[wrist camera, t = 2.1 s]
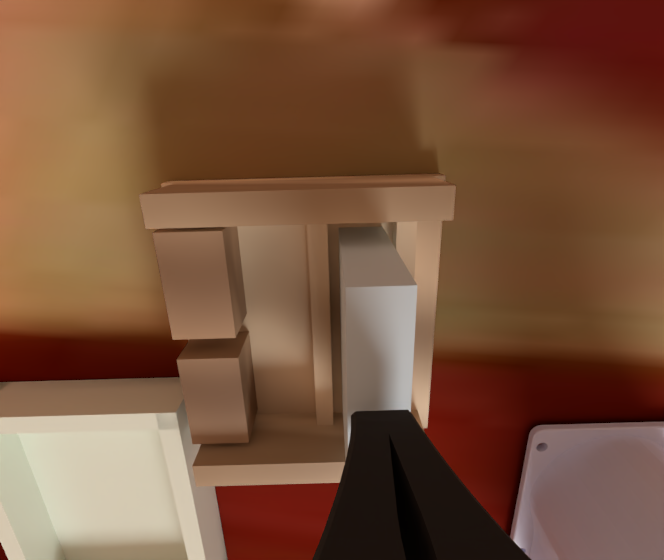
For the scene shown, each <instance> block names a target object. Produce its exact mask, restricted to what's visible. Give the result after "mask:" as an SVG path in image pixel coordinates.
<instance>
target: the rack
mask: <svg viewBox="0 0 664 560" xmlns="http://www.w3.org/2000/svg"><path fill="white" fill-rule="evenodd" d="M445 178H446V175H443V174H440V173H439V174H404V175H368V176H333V177H297V178H262V179H226V180H191V181H168V182H165V183H161V188H158V189H155V190H151V191H148V192H145V193H142V194H139V198H140V203H141V208H142V213H143V218H144V223H145V228H146V229H166V228H201V227H237V229H238V238H239V247H240V256H241V265H242V274H243V283H244V291H245V300H246V309H247V314H246V317H245V319H244V321H243V323H242V325H241V328H240V330H239V332H246V331H249V336H250V345H251V354H252V363H253V371H254V380H255V389H256V398H257V407H258V410H257V414H256V417H255V421H254V425H253V429H252V433H251V437H250V441H249V443H218V444H201V446H200V448H199V451H198V453H197V456H196V458H195V461H194V463H193V465H192V468H193V473H194V478H195V484H196V487H199V486H234V485H269V484H305V483H340V480H341V476H342V472H343V468H344V465H345V443H344V424H343V406H342V371H341V323H340V275H339V228H344V227H380V226H382V227H383V229H384V230H385V232H386V234H387V235H388V237H389V239H390V240H391V242H392V244H393V245H394V247H395V249H396V250H397V252H398V254H399V255H400V257H401V259H402V260H403V262H404V264H405V265H406V267H407V269H408V270H409V272H410V274H411V275H412V277H413V279H414V280H415V282H416V284H417V304H416V322H415V341H414V360H413V378H412V397H411V413H412V414H413V416H414V417H415V419H416V420H417V422H418V423H419V425H420V427H421V428H422V429H423V428H427V425H428V411H429V398H430V384H431V370H432V357H433V343H434V329H435V315H436V302H437V288H438V274H439V260H440V247H441V233H442V221H450V220H453V217H454V205H455V193H456V185H454V184H451V183H448V182H446V181H445ZM189 340H190V339H188V341H189ZM423 431H424V429H423Z"/></svg>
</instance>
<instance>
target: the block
mask: <svg viewBox="0 0 664 560" xmlns="http://www.w3.org/2000/svg"><path fill="white" fill-rule="evenodd" d="M339 275H340V323H341V371H342V406H343V424H344V443H345V461H346V457H347V452H348V446H349V441H350V434H351V415H352V414H353V413H354V412H355V411H378V410H409V411H410V412H411V397H412V378H413V360H414V341H415V322H416V304H417V284H416V282H415V280H414V279H413V277H412V275H411V274H410V272H409V270H408V269H407V267H406V265H405V264H404V262H403V260H402V259H401V257H400V255H399V254H398V252H397V250H396V249H395V247H394V245H393V244H392V242H391V240H390V239H389V237H388V235H387V234H386V232H385V230H384V229H383V227H382V226H380V227H344V228H339Z"/></svg>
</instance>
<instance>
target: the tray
mask: <svg viewBox="0 0 664 560" xmlns="http://www.w3.org/2000/svg"><path fill="white" fill-rule="evenodd" d="M200 446H201V444H192V439H191V433H190V428H189V423H188V418H187V412H186V407H185V402H184V397H183V391H182V386H181V381H180V377H167V378H132V379H97V380H61V381H26V382H0V542H1V545H2V547H3V549H4V551H5V553H6V555H7V558H8V560H227V555H226V549H225V543H224V537H223V532H222V526H221V520H220V514H219V509H218V503H217V497H216V492H215V486H199V487H196V484H195V478H194V473H193V468H192V465H193V463H194V461H195V458H196V456H197V453H198V451H199V448H200Z"/></svg>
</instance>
